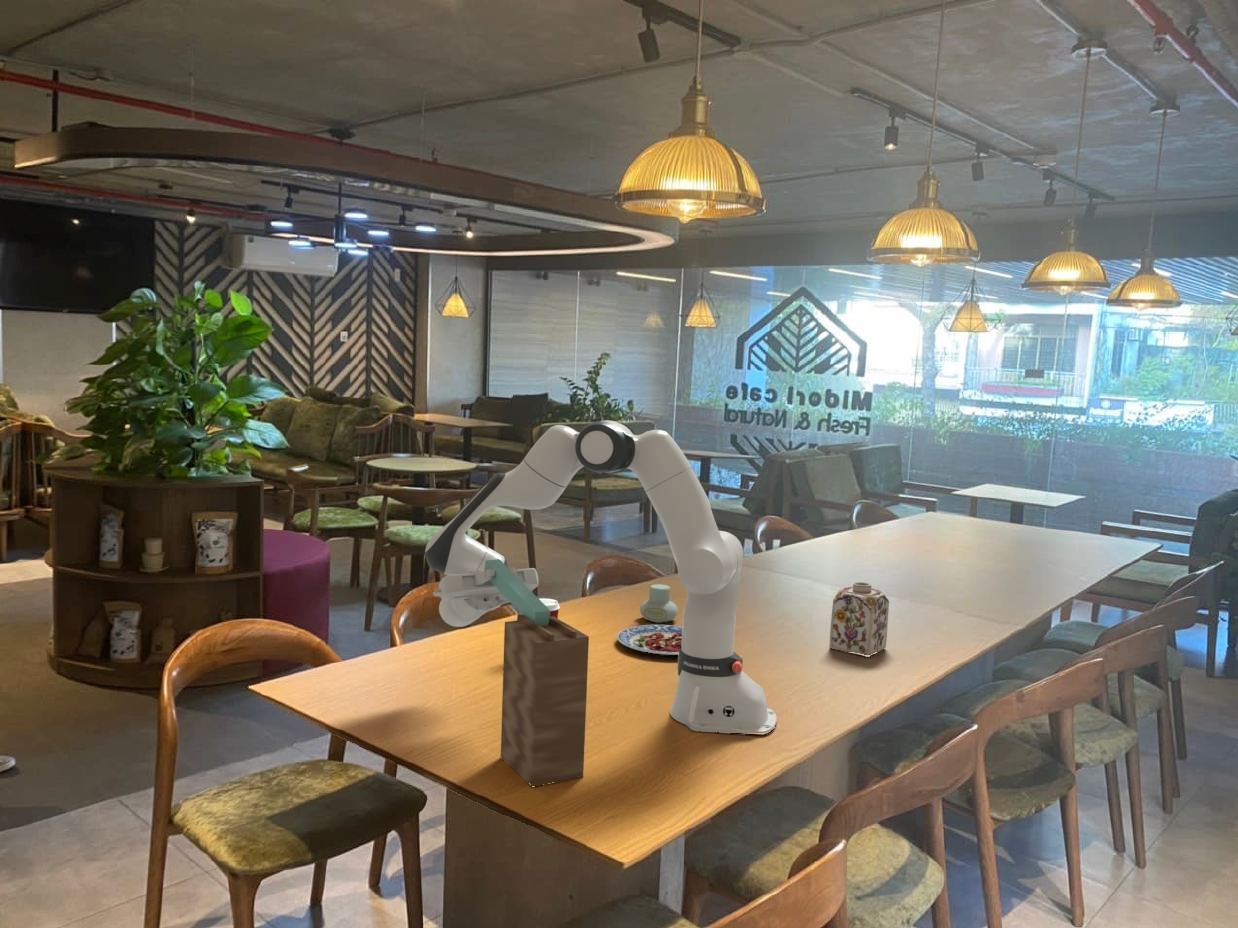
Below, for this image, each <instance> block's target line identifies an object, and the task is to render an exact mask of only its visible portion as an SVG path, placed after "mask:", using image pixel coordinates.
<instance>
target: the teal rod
mask: <svg viewBox="0 0 1238 928" xmlns="http://www.w3.org/2000/svg"><path fill="white" fill-rule="evenodd" d="M509 568H510V567H509V566H508V567H507V566H506V565H505V564H504V563H503V562H502V561H501V560H500V559H497V560H486V561H485V570H484V572H485V571H486V570H489V569H495V574H496V578H494V579H493V580H490V581H491V582H492V583H493V584H494V585H495V586H496V587H497V589H498V590H499V591H500V592H501V593H502V594H503V595H504V596H505V597H506V598H507V599H508V600H509V601H510V602H511V605H512V606H513V607H514V608H515V609H516V610H517V611H518V612H519V614H521V615H523V616H525V617H526V618H528V619H530V620H531V621H533V622H535V623H536V624H538V625H540V626H548V625H549V617H550V610H549V609H548V608H547V607H546V606H545V605H544V604H543V603H542V602H541V601H540V600H539V599H540V598H539V597H537V596H536V595H535V593H534V592H533V591H530V590H529V589H528V588H527V587H526V586H525V585H524V584H523V583H522V581H521V580H520V579H519V578H518V577H517V576H516V575H515V574H514V573H513V572H512V571H511V570H510V569H509Z"/></svg>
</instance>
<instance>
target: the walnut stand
mask: <svg viewBox="0 0 1238 928" xmlns="http://www.w3.org/2000/svg"><path fill="white" fill-rule="evenodd" d="M503 634H504V635H503V637H504V639H503V665H502V667H503V668H502V669H503V671H502V672H503V673H502V702H501V730H500V731H501V737H500V741H501V742H500V758H501V757H502V758H503V759H504V760H505V761H506V762H507V763H508V764H509V765H510V766H511V767H512V768H513V769H514V772H515V773H516V774H517V775H519V776H520V777H521V778H522V779H523V780H524V781H525V782H526V783H527V782H528V783H530V784H531V785H532V786H538V785H543V784H548V783H552V782H558V783H562V782H561V781H563V782H567V781H571V780H576V779H580V778H584V768H585V767H584V766H585V763H584V762H585V746H586V745H585V741H586V740H585V739H586V719H587V716H586V715H587V694H588V691H587V690H588V671H589V669H588V668H589V646H590V645H589V642H590V641H589V640H590V636H589V635H587V634H585V633H584V632H582V631H579V630H578V629H576V628H574V627H572V626H571V625H569V624H568V623H566V622H564V621H562V620H561V619H557V618H555V617H554V616H553V617H549V625H548V626H540V625H538V624H536V623H535V622H533V621H531V620H530V619H528V618H526V617H525V616H523V615H522V614H521V613H518V614H517V616H516V620H509V621H504V633H503ZM502 758H501V759H502ZM503 759H502V760H503ZM504 760H503V761H504ZM505 761H504V762H505ZM506 762H505V763H506ZM507 763H506V764H507ZM508 764H507V765H508ZM509 765H508V766H509ZM510 766H509V767H510ZM511 767H510V768H511ZM512 768H511V769H512ZM513 769H512V770H513ZM528 783H527V784H528ZM548 785H549V784H548Z"/></svg>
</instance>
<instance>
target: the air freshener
mask: <svg viewBox="0 0 1238 928" xmlns="http://www.w3.org/2000/svg"><path fill="white" fill-rule="evenodd" d="M639 612H640V615H641V616H642V617H643V618H644V619H645V620H647V621H648V620H649V621H648V622H651V621H652V622H651V623H653V622H657V623H656V624H664V623H663V622H665V623H668V622H671V621H672V620H673V621H674V619H675V618H676V617H677V615H678V614H679V610H678V607H677V605H676V604H675V603H674V602H673V601H671V587H670V586H669V585H666V584H656V583H655V584H652V585H650V587H649V595H648V599H646V600H645V601H643V602H642V603H641V605H640V608H639Z"/></svg>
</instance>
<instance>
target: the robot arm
mask: <svg viewBox="0 0 1238 928" xmlns="http://www.w3.org/2000/svg"><path fill="white" fill-rule="evenodd" d="M584 467H585V468H586V469H587V470H590V471H591V472H594V473H598V474H599V473H600V474H604V473H606V474H610V473H616V472H619V471H621V470H625V469H628V470H630V471H632V472H633V473H634V474H635V475H636V477H637V478H638V480H639V482H640V484H641V485H642V487H643V490H644V491H645V494H646V495H647V497H648V500H649V501H650V503H651V505H652V507H653V509H654V511H655V513H656V515H657V517H658V518H659V521H660V522H661V525H662V527H663V530H664V532H665V535H666V538H667V541H668V543H669V548H670V550H671V553H672V555H673V559H674V561H675V565H676V567H677V575H678V578H679V580H680V583H681V584H682V586H683V587H684V588H685V589H686V590H687V593H686V594H687V595H686V600H685V604H684V607H683V612H682V626H681V627H682V644H681V649H680V650H679V654H678V656H677V675H678V679H677V685H676V686H677V687H676V691H675V695H674V699H673V702H672V706H671V708H670V711H669V714H670V716H671V717H672V718H673V719H674V720H675V721H677V722H679V723H680V724H683V725H686V726H687V727H688V728H689V730H692V731H694V732H699V731H701V732H702V733H706V732H707V733H715V732H716V733H717V732H719V733H720V734H730V733H767V732H769V731H771V730H772V729H773V728H774V727H775V725H776V722H777V721H778V718H777V714H776V713H775V711H774V710H773V709H771V708H768V702H767V697H766V694H765V691H764V689H763V688H762V686H760V685H759V684H758V683H757V682H755V681H754V680H753V679H752V678H751V677H750V676H749V675H747V673H745V671H743V667H744V666H743V663H744V662H743V661H744V660H743V653H742V654H740V655H739V654H738V653H737V652H735V651H734V648H735V632H736V629H735V628H736V619H737V617H736V616H737V611H738V610H737V609H738V603H739V597H740V589H741V582H742V574H743V565H744V549H743V546H742V543H741V541H740V540H739V538H737V537H736V536H735V534H732V533H731V532H728V531H723V530H719V528H718V525H717V523H716V520H715V516H714V514H713V511H712V507H711V502H710V500H709V497H708V495H707V493H706V491H705V490H704V488H703V486H702V484H701V482H700V480H699V478H698V476H697V474H696V472H695V471H694V469H693V467H692V465H691V463H690V462H689V460H688V458H687V457H686V455H685V454H684V452H683V451H682V449H681V448H680V446H679V444H677V442H676V441H675V439H673V437H672V436H671V435H670V434H669V433H668V432H667V431H665V430H664V429H663V430H662V429H652V430H648V431H645V432H643V433H641V434H636V433H635V432H634V430H633V429H632V428H631V427H630V426H628V425H627V424H625V423H622V422H618V421H614V420H608V419H605V420H599V421H594V422H591V423H589V424H587V425H586V426H584V427H583V428H582V429H581V430H580V431H577V430H575V429H574V428H573V427H570V426H567V425H564V424H563V425H562V424H556V425H553V426H551V427H549V428H548V429H547V430H546V431H545V432H544V433H543V434H542V435H541V436H540V437H539V438H538V439H537V441H536V442H535V443H534V445H532V447H531V448H530V450H528V452H527V454H526V455H525V456H524V458H523V459H522V461H521V462H520V463H519V464H518V465H517V466H516V467H514V468H513V469H511V470H510V471H507V472H497V473H495V475H493V476H492V477H491V478H489V479H488V480H487V481H486V482H485V483H484V484H483V485H482V486H481V487H480V488H479V489H478V490H477V491H476V492H475V493H474V494H473V495H472V496H471V497H470V498H469V499H468V501H466V502H465V504H464V505H463V506H462V507H461V508H460V509H459V510H458V511H457V512H456V513H455V515H453V517H452V518H451V519H450V520H449V521H447V523H445V524H444V525H443V526H442V527H441V528H440V529H438V530H437V531H436V532H435V533H434V534H433V535H432V537H430V539H429V540H428V542H427V544H426V547H425V549H424V557H425V560H426V562H427V564H428V567H429V568H430V569H432V570H434V571H436V572H438V573H441V574H443V575H445V576H444V577H442V578H441V579H440V581H439V583H438V587H439V588H437V589H435V590H434V591H433V596H434V597H438V598H440V599H441V600H440V603H439V604H438V605H439V606H438V611H439V614H440V617H441V618H442V620H443V622H445V623H446V624H447V625H449V626H451V627H454V628H457V627H458V628H459V627H466V626H469V625H470V624H473V623H474V622H475V621H477V620H478V619H480V618H481V617H482V616H483V615H486V613H488V612H492V611H494V610H496V609H497V608H498V609H499V608H503V607H507V606H510V605H512V604H511V602H510V601H509V600H508V599H507V598H506V597H505V596H504V595H503V594H502V593H501V592H500V591H499V590H498V589H497V587H496V586H495V585H494V584H493V583H492V582H491V581H490V580H493V579H494V578H496V574H495V569H489V570H486V571H485V572H484V570H485V561H486V560H497V559H500V560H501V561H502V562H503V563H504V564H505V565H506V566H507V567H508V568H509V569H510V570H511V571H512V572H513V573H514V574H515V575H516V576H517V577H518V578H519V579H520V580H521V581H522V583H523V584H524V585H525V586H526V587H527V588H528V589H529V590H530V591H531V592H533V591H534V590H535V589H536V588H537V587H538V586H539V574H538V572H537V569H536V568H534V567H529V568H520V569H519V568H517V569H516V567H509V566H508V561H507V559H506V557H505V556H503V555H502V554H500V553H499V552H497V551H496V550H493V549H492V548H490V547H489V546H486V545H484V544H483V543H481V542H480V541H477V540H476V539H474V538H472V537H470V536H469V535H468V534H466V533H467V532H468V531H469V529H470V528H471V527H472V526H473V525H474V524H475V523H476V522H477V521H478V520H479V519H480V518H481V517H482V516H483V514H484V513H485V512H486V511H488V510H489V509H492V508H495V507H511V508H516V509H523V510H528V511H529V510H530V511H531V510H543V509H545V508H549V507H550V506H552V505H554V504H555V502H556V501H558V499H559V498H560V496H561V495H562V494H563V493H564V492H565V489H566V488H567V487H568V486H569V484H570V482H571V481H572V479H573V478H574V476H575V475H576V473H578V471H580V470H581V469H582V468H584ZM777 723H778V722H777ZM776 726H777V725H776ZM775 728H776V727H775ZM701 732H700V733H701ZM716 733H715V734H716ZM719 733H717V734H719Z"/></svg>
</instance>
